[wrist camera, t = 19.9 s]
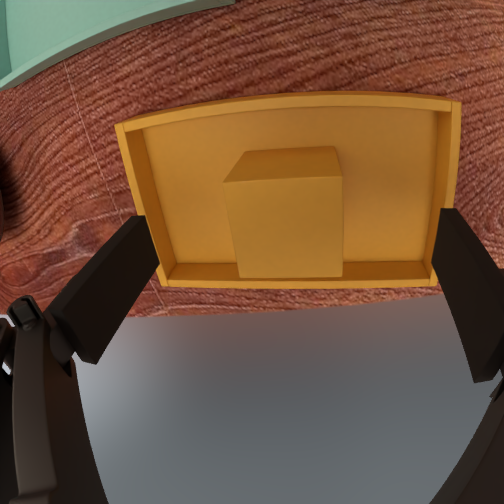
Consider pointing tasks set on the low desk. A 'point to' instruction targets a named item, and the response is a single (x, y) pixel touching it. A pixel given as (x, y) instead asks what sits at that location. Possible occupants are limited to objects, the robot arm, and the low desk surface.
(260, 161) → the ochre block
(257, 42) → the low desk surface
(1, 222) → the bowl
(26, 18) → the teal tray
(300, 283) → the ochre tray
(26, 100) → the low desk surface
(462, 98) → the low desk surface
